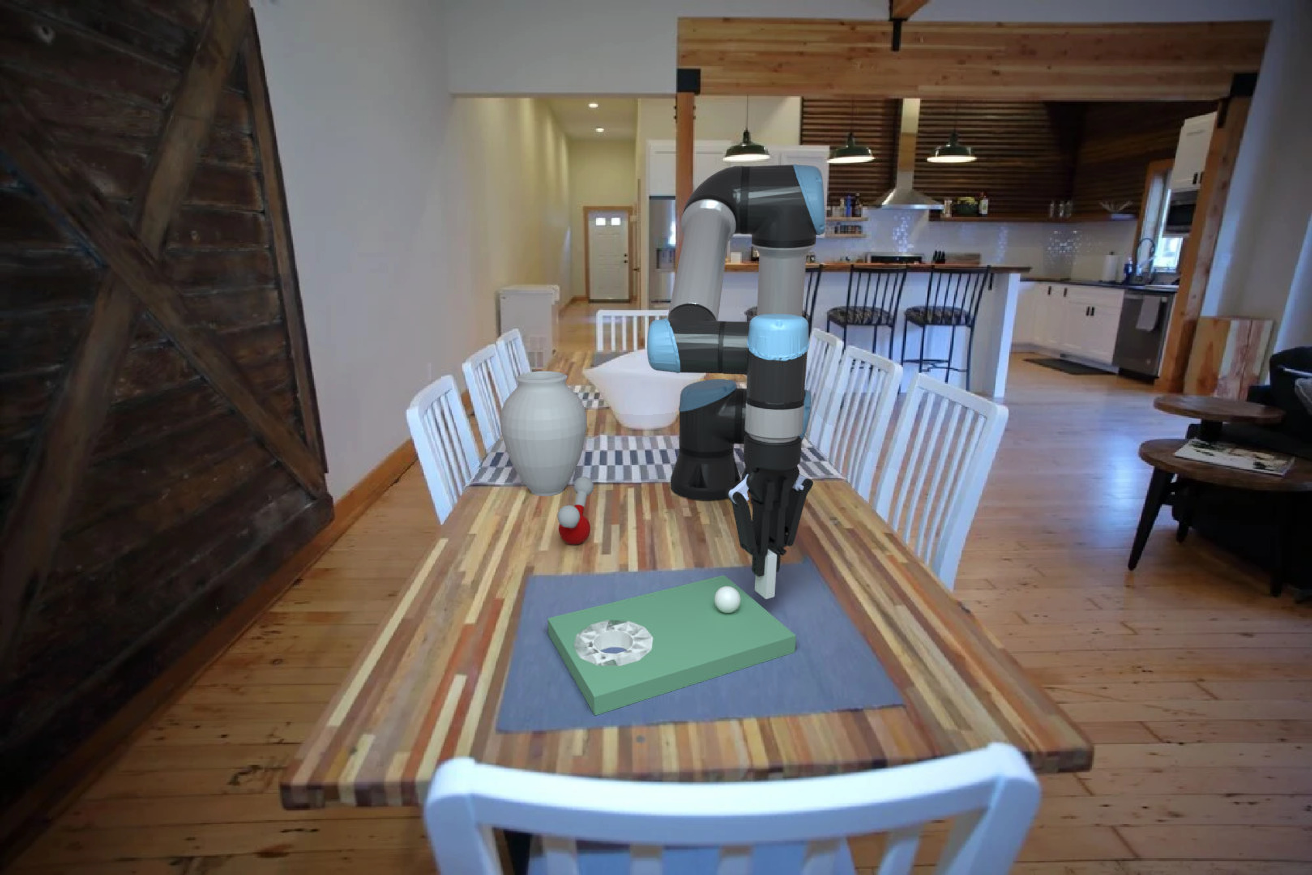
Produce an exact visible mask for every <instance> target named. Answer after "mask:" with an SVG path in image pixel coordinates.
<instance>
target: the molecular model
mask: <svg viewBox="0 0 1312 875" xmlns="http://www.w3.org/2000/svg"><path fill="white" fill-rule="evenodd" d="M594 488H595V486H594V482H593V481H592V479H591V478H590V477H587V476H580V477H578V478H577V479H575V481H574V484H573V490H574V492H575V494H576V497H575V502H574V505H570V504H568V505H564V506H562V507H561V508H560V509H559V510H558V512H557V516H556V518H557V520H558V523H559V525H558V533H559V534H558V535H559V536H560V539H562V540H563V542H565V543H566V544H569V545H575V546H576V545H579V544H580V545H581V544H582V543H584V542H585V541H587V539H588V538H589V536H590V533H591V524H590V521H589V519H588V518H587V516H585V515H584V512H585V506H586V501H587V497H588V496H590V495H591V494H592V493H593V492H594V491H593V490H594Z"/></svg>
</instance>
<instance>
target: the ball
mask: <svg viewBox="0 0 1312 875" xmlns="http://www.w3.org/2000/svg"><path fill="white" fill-rule="evenodd" d="M714 601H715V605H716V607H717V608H718V609H719V610H720V611H722V612H724V613H731V612H734V611H735V610H737V608H738V607H739V605H740V601H741V599H740V595H739V593H738V591H737V590H736V589H734V588H733V587H730V586H724V587H722V588H720V589H719V590H718V591H717V592H716V594H715V598H714Z"/></svg>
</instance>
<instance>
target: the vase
mask: <svg viewBox="0 0 1312 875" xmlns="http://www.w3.org/2000/svg"><path fill="white" fill-rule="evenodd" d="M567 379H568V375H567V374H566V373H565V374H564V373H563V372H558V371H549V370H546V371H545V370H542V371H541V370H539V371H529V372H525V373H524V372H523V373H521V374H520V375H517V376H516V377H515V381H516V382H517V387H516V388H515V389H514V390H513V391H512V392H511V393H510V395H509V396H507V398H506V399H505V401H504V402H503V406H502V408H501V411H500V420H499V422H500V433H501V436H502V439H503V443H504V446H505V449H506V453H507V455H508V458H509V461H510V462H511V464H512V465H513V468H514V470H515V471H516V473H517V475H518V476H519V479H520V480H521V482H523V485H525V487H527V489H529V491H530V492H531V494H533V495H535V496H539V497H549V496H550V497H551V496H556V495H559V494H562V493H563V492H564V490H565V488H566V487H567V486H568V484H569V483H570V481H571V480H572V477H573V476H574V473H575V471H576V469H577V468H578V467H577V466H578V464H579V462H580V459H581V456H582V453H583V448H584V443H585V440H586V439H585V437H586V432H587V427H588V419H587V418H588V417H587V412H586V408H585V406H584V403H583V401H582V399H581V397H580V396H579V395H577V393H576V392H575V391H573V389H572V388H570V387H569V386H568V385H567V383H566V382H567Z"/></svg>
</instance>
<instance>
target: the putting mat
mask: <svg viewBox="0 0 1312 875" xmlns="http://www.w3.org/2000/svg"><path fill="white" fill-rule="evenodd" d="M724 586H730V587H733V588H734V589H736V590H737V591H738V593H739V595H740V599H741V601H740V605H739V607H738V608H737V610H735V611H734V612H731V613H724V612H722V611H720V610H719V609H718V608H717V607H716V605H715V601H714V598H715V594H716V592H717V591H718V590H719V589H720V588H722V587H724ZM547 629H548V632H547V633H548V634H547V635H548V636H549V638H550V640H551V641H552V643H553V645H554V647H555V648H556V650H557V653H559V656H560V657H561V659H562V660H563V662H564V664H565V666H566V667H567V669H568V671H569V673H570V675H571V676H572V678H573V680H574V682H575V683H576V685H577V687H578V689H579V690H580V692H581V694H582V696H583V697H584V699H585V701H586V703H587V705H588V706H589V708H590V710H591V712H592V713H593V715H594V716H598V715H601V714H604V713H608V712H610V711H613V710H617V709H620V708H623V707H626V706H630V705H632V704H633V705H634V704H636V703H639V702H642V701H646V700H648V699H651V698H655V697H658V696H661V695H664V694H667V693H670V692H673V691H678V690H680V689H684V688H686V687H690V686H693V685H696V684H699V683H702V682H705V681H708V680H712V679H714V678H718V677H720V676H724V675H728V674H730V673H734V672H736V671H739V670H743V669H747V668H749V667H753V666H756V665H759V664H762V663H765V662H768V661H771V660H775V659H778V658H781V657H784V656H787V655H788V656H789V655H791V654H794V653H796V644H797V643H796V642H797V641H796V640H797V635H796V634H795V633H794V632H792V631H791V630H790V629H789V628H788V627H786V625H784V624H783V623H782V622H781V621H779V620H778V619H777V618H776V617H775V616H773V614H772V613H770V612H768V611H767V610H766V609H765V608H764V607H762V605H761V604H759V603H758V602H757V601H756V600H754V598H752V597H751V596H750V595H748V593H747V592H745V591H744V590H743V589H741V587H739V586H738V585H737V584H735V582H733V581H732V580H731V579H730V578H728V576H726V575H725V574H723V575H718V576H715V577H711V578H706V579H702V580H697V581H694V582H691V583H686V584H683V585H682V584H681V585H679V586H678V585H677V586H675V587H670V588H666V589H663V590H658V591H654V592H650V593H645V594H641V595H638V596H634V597H629V598H624V599H621V600H617V601H613V602H610V603H604V604H601V605H597V606H591V607H588V608H585V609H580V610H576V611H573V612H567V613H564V614H560V615H555V616H551V617H548V618H547ZM609 648H610V649H611V648H622V649H623V650H625V651H621V652H618V653H611V652H610V653H609V652H607V653H606V652H603V651H604V650H605V649H609Z"/></svg>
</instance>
